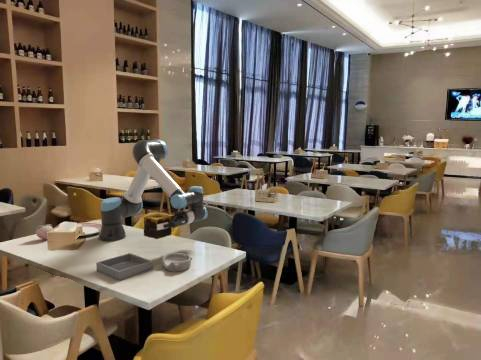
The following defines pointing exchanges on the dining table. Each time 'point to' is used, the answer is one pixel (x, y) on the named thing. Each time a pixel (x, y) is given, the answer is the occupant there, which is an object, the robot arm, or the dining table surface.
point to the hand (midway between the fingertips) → (150, 225)
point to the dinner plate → (91, 228)
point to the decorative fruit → (43, 231)
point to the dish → (176, 261)
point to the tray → (124, 266)
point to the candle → (152, 223)
